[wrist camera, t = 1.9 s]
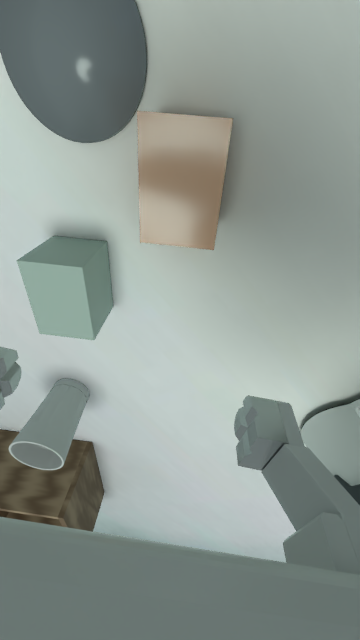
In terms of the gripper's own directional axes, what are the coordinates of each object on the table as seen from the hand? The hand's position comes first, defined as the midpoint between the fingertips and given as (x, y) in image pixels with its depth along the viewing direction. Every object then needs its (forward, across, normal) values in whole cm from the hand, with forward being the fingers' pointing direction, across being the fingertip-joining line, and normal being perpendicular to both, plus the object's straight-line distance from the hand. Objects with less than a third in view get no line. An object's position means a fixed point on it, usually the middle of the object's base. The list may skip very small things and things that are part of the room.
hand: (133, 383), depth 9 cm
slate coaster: (+23, +11, -10) cm, 28 cm away
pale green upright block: (+24, +10, +10) cm, 28 cm away
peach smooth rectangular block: (+23, 0, -4) cm, 24 cm away
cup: (+24, +13, +34) cm, 44 cm away
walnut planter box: (+24, +19, +65) cm, 72 cm away
